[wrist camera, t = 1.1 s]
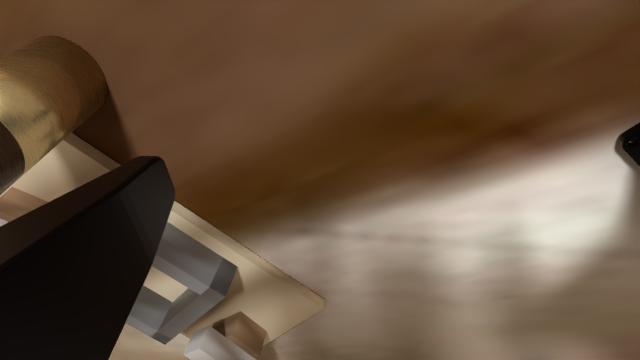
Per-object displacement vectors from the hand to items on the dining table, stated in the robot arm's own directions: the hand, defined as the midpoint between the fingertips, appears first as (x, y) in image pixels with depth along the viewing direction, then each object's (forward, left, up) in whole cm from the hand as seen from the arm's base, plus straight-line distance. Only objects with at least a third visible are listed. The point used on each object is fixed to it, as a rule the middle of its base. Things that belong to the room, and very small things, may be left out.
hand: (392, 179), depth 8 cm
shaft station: (0, +24, -13) cm, 27 cm away
